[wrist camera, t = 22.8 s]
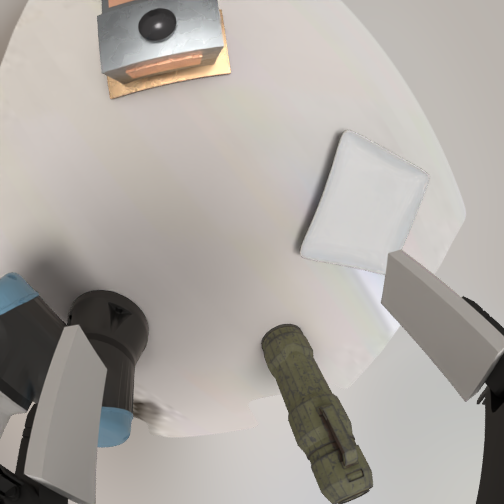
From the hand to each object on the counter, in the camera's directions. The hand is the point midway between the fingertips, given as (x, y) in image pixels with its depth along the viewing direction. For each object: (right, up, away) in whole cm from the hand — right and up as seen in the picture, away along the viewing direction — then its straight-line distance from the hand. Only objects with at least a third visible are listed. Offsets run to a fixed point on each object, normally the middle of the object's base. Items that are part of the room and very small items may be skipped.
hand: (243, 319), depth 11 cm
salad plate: (+20, +11, +36) cm, 42 cm away
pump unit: (-11, +29, +18) cm, 36 cm away
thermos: (+6, -15, +45) cm, 48 cm away
